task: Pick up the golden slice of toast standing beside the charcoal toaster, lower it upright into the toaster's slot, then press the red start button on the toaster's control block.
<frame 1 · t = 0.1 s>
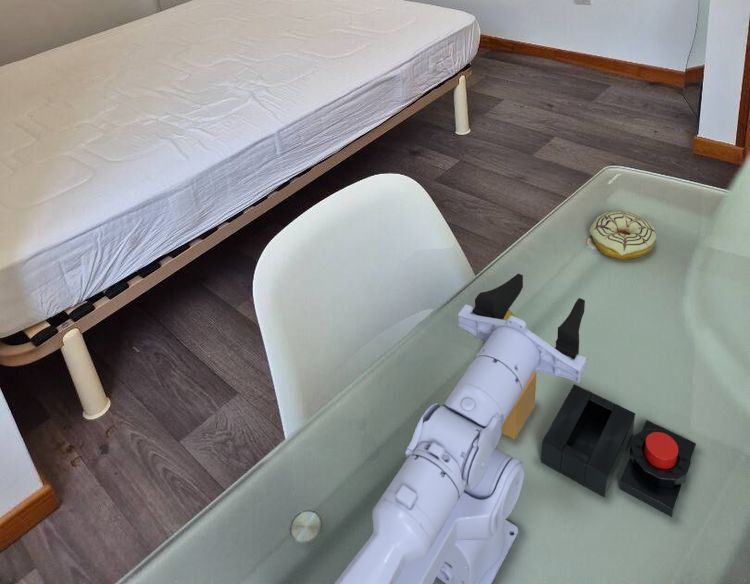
hand: (550, 292, 81), 22 cm above the table, tool horizontal, fingers open, 7 cm apart
decorated donut: (621, 244, 121), on the table
start button: (661, 450, 82), point 4 cm above the table, slide at 0.1 cm
toast: (518, 419, 91), on the table
toaster: (587, 448, 86), on the table
lemon: (498, 351, 101), on the table
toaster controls: (657, 469, 83), on the table
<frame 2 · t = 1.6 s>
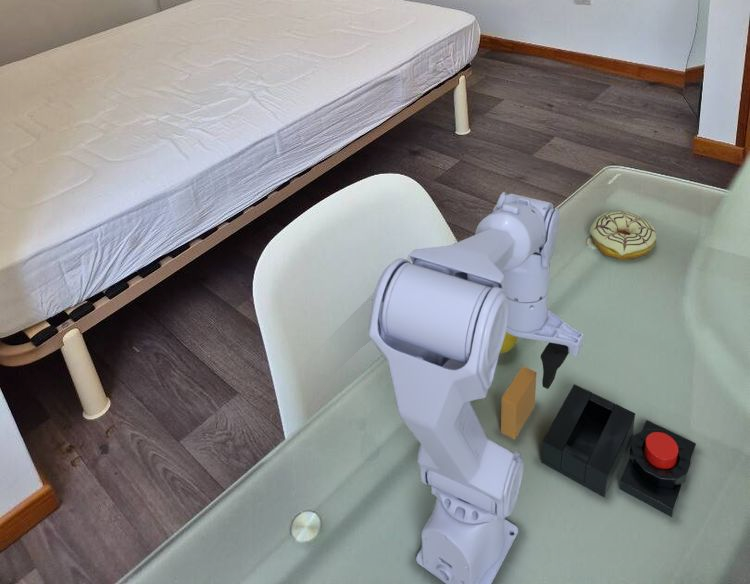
hand: (520, 368, 87), 9 cm above the table, tool pointing down, fingers open, 7 cm apart
nothing on the table moved.
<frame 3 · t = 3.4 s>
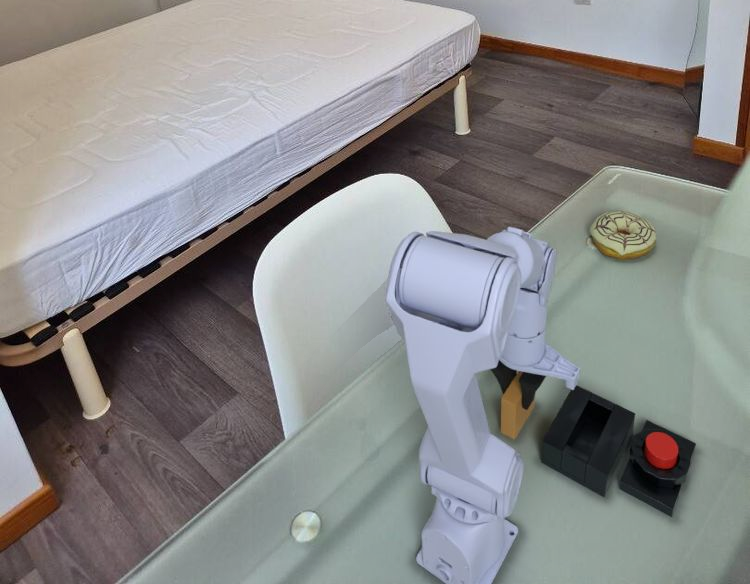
hand: (518, 398, 89), 4 cm above the table, tool pointing down, fingers closed on toast, 2 cm apart
toast: (517, 419, 91), on the table, touching gripper
everything else where it was.
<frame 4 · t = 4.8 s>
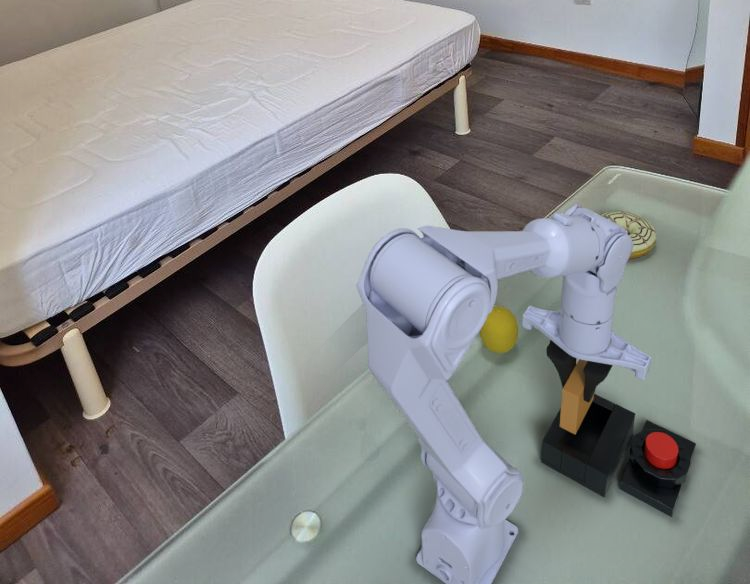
hand: (579, 390, 83), 9 cm above the table, tool pointing down, fingers closed on toast
toast: (576, 412, 85), point 5 cm above the table, touching gripper
everything else where it was.
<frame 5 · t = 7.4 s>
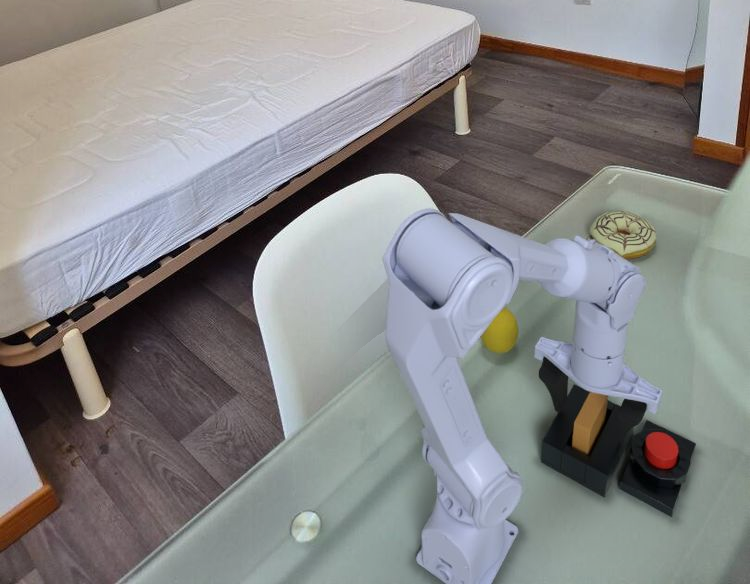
hand: (590, 421, 84), 5 cm above the table, tool pointing down, fingers open, 7 cm apart
toast: (587, 443, 86), point 1 cm above the table, touching toaster
everything else where it was.
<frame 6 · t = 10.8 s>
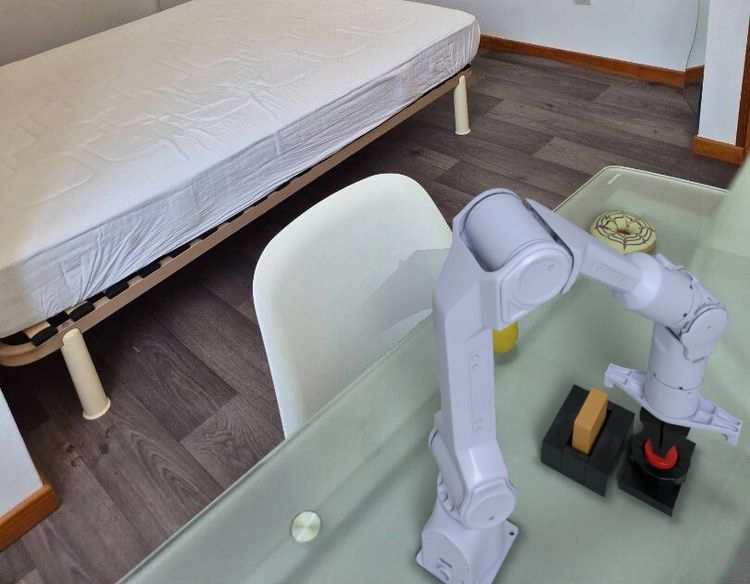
hand: (661, 450, 82), 4 cm above the table, tool pointing down, fingers closed, pressing on start button
start button: (660, 455, 82), point 3 cm above the table, slide at -0.7 cm, touching gripper
everything else where it was.
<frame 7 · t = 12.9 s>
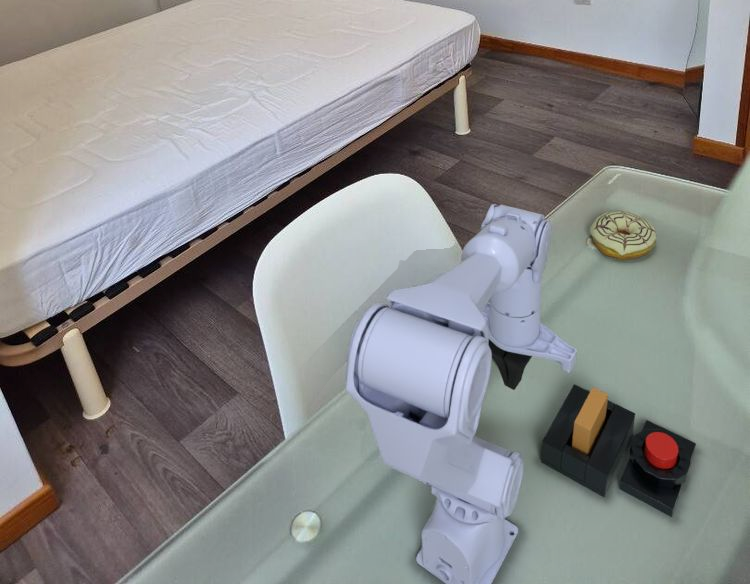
hand: (512, 381, 84), 10 cm above the table, tool pointing down, fingers closed
start button: (661, 450, 82), point 4 cm above the table, slide at 0.1 cm
everything else where it was.
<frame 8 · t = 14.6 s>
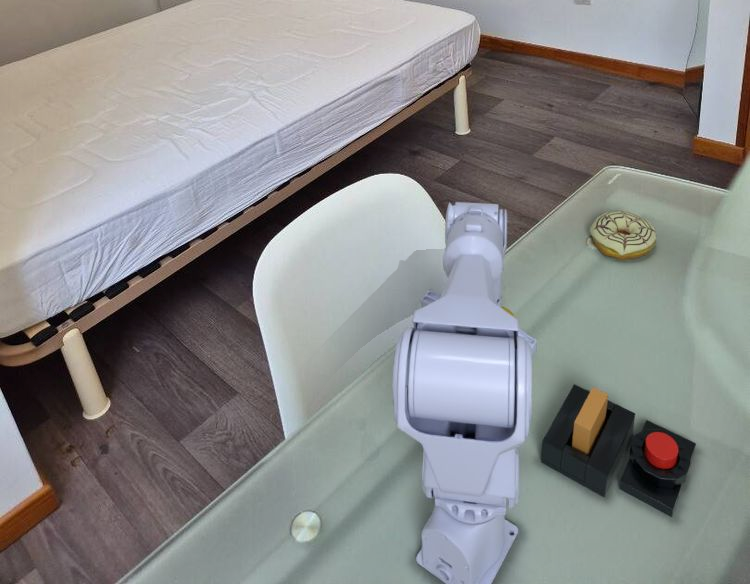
hand: (476, 372, 85), 10 cm above the table, tool pointing down, fingers closed
nothing on the table moved.
at the end: toast 0.1 cm off-centre on the toaster, point 0.8 cm above the toaster's base; toast tilted 0°; start button pushed in 1.0 cm at the most during the clip, back to where it started at the end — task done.
